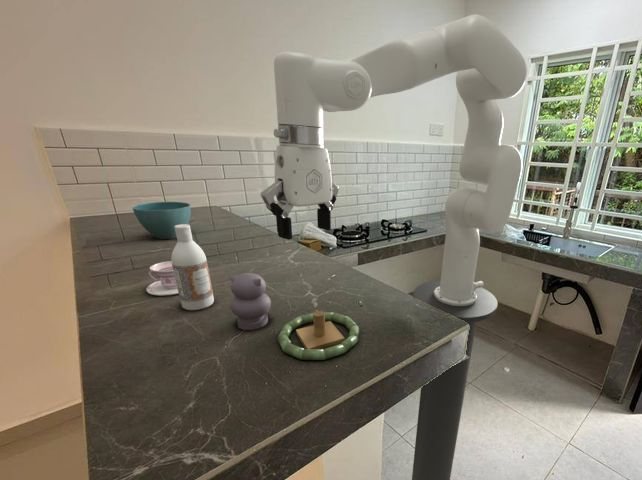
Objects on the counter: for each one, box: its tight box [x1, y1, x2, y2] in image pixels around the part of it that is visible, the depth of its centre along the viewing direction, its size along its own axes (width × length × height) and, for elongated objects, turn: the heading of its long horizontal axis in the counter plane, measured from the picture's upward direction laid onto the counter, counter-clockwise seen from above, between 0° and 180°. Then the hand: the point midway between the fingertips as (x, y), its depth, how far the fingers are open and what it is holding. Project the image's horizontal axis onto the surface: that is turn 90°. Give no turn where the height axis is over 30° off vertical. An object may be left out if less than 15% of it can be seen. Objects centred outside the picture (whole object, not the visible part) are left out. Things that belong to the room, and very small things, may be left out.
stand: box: [295, 310, 346, 349], centre depth 69 cm, size 8×8×6 cm
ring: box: [277, 311, 360, 361], centre depth 70 cm, size 17×17×2 cm
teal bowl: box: [132, 201, 192, 240], centre depth 127 cm, size 18×18×12 cm
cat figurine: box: [227, 272, 272, 331], centre depth 72 cm, size 8×8×12 cm
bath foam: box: [170, 224, 215, 311], centre depth 76 cm, size 7×7×20 cm
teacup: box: [145, 260, 179, 297], centre depth 87 cm, size 12×12×6 cm
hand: (305, 233), depth 63 cm, fingers open, 9 cm apart
